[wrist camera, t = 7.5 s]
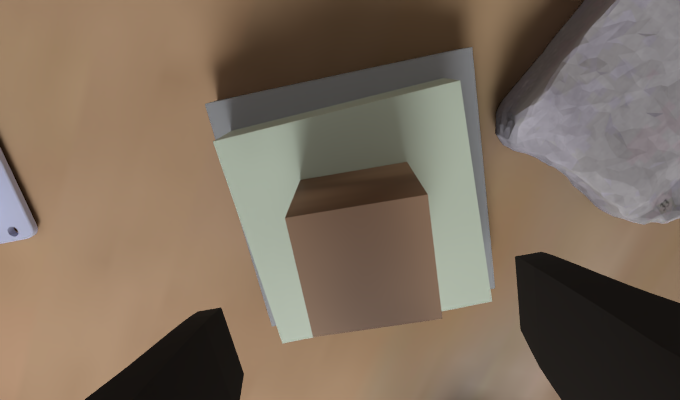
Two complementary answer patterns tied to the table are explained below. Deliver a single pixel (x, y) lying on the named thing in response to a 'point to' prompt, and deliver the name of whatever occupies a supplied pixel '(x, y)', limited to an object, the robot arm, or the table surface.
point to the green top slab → (350, 155)
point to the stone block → (607, 107)
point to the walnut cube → (364, 250)
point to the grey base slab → (358, 86)
